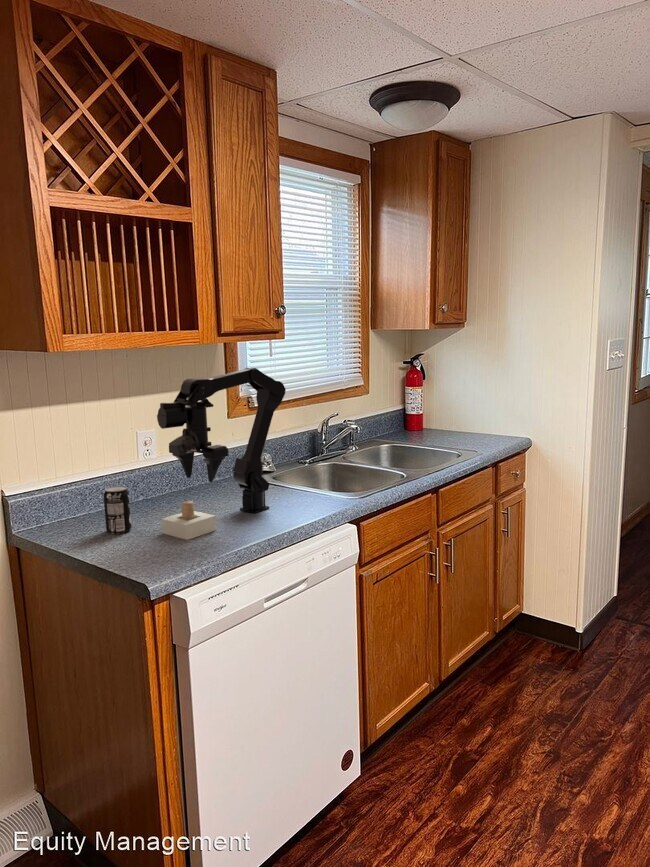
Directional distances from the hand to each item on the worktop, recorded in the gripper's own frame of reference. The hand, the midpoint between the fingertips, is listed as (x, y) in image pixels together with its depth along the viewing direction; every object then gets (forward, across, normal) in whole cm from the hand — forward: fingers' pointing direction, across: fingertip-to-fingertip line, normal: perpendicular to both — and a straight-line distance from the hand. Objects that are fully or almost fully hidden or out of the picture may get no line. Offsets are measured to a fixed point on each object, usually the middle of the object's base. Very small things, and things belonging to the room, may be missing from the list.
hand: (199, 479), depth 186 cm
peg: (+12, +4, -8) cm, 15 cm away
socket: (+12, +4, -8) cm, 15 cm away
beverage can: (+12, -12, -19) cm, 26 cm away
